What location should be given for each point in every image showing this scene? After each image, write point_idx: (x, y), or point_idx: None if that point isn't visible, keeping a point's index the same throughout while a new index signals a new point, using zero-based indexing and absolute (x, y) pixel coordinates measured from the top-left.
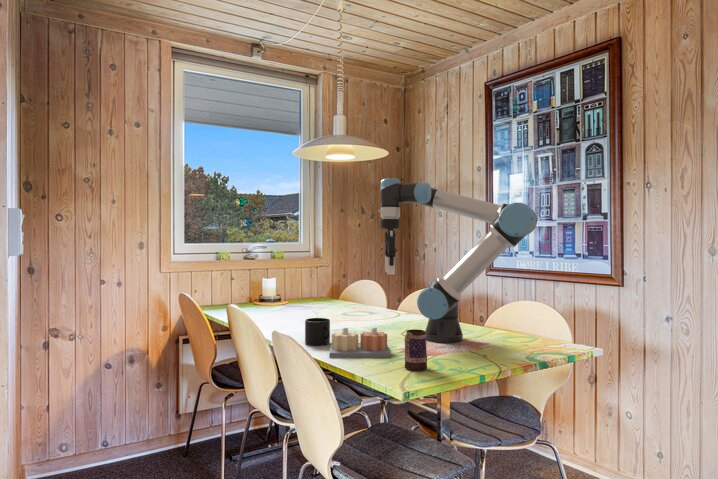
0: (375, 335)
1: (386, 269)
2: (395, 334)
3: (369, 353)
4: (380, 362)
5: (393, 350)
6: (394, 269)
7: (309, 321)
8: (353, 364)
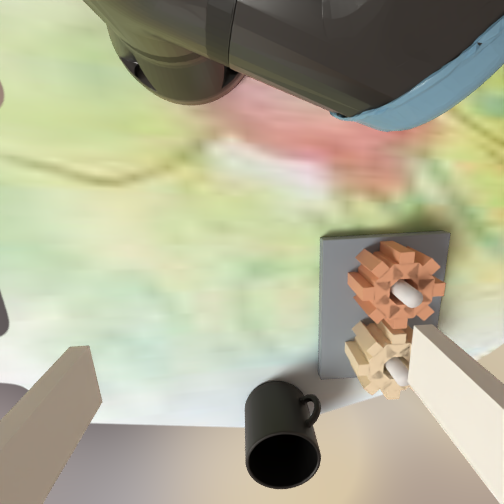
0: (432, 286)
1: (88, 410)
2: (124, 206)
3: None
4: (487, 254)
5: (362, 219)
6: (466, 356)
7: (312, 476)
8: (494, 312)
